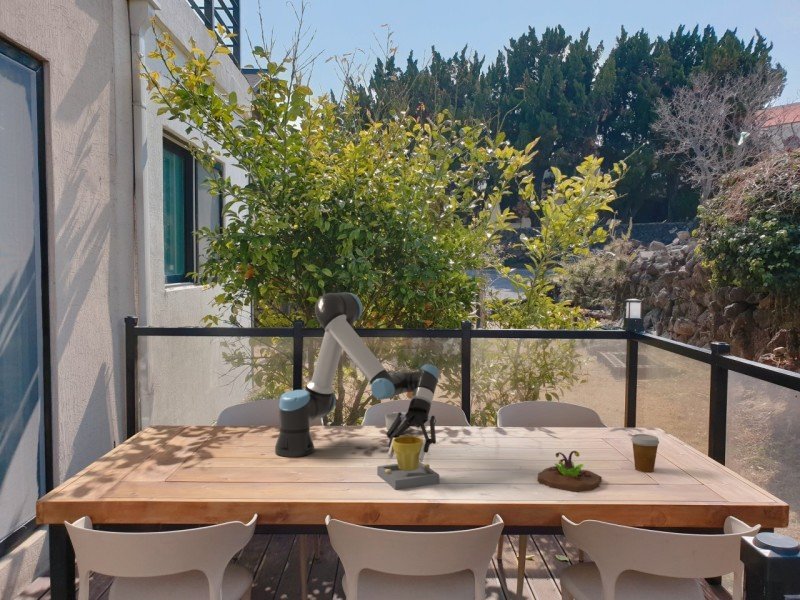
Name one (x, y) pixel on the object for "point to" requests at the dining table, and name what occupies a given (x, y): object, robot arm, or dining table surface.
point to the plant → (569, 476)
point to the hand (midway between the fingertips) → (405, 458)
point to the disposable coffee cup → (644, 451)
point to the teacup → (391, 418)
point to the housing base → (407, 476)
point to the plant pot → (407, 452)
